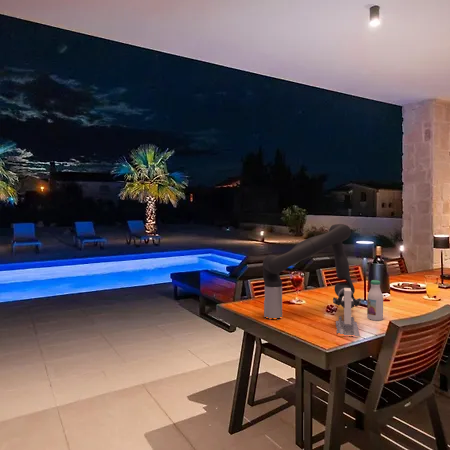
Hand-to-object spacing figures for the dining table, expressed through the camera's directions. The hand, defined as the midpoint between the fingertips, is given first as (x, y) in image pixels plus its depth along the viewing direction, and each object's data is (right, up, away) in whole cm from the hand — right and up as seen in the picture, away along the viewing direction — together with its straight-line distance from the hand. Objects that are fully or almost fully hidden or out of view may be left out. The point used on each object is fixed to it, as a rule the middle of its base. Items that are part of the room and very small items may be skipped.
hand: (347, 305), depth 188 cm
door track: (+1, -12, +4) cm, 13 cm away
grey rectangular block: (+1, -9, +3) cm, 9 cm away
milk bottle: (+20, -11, +20) cm, 31 cm away
